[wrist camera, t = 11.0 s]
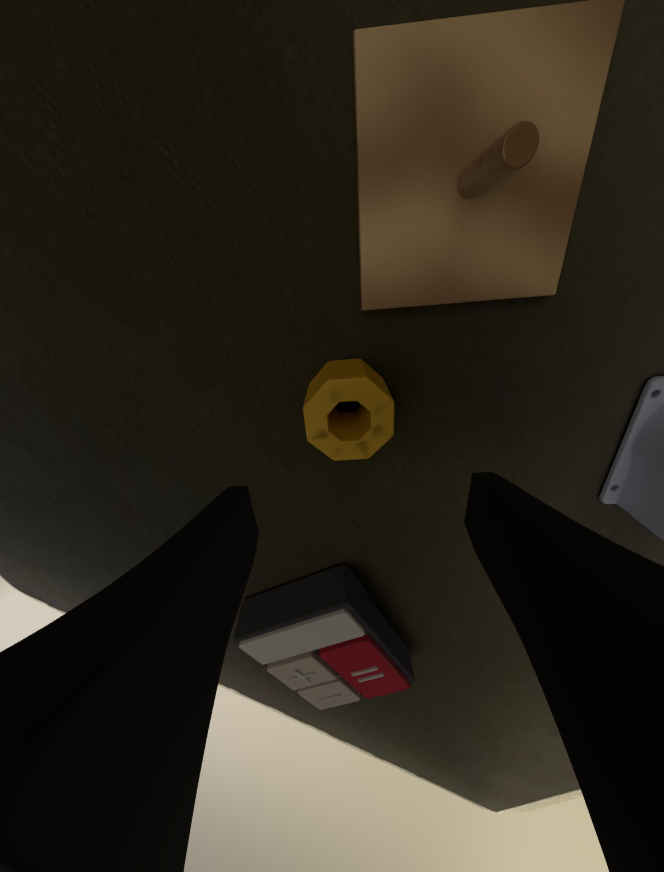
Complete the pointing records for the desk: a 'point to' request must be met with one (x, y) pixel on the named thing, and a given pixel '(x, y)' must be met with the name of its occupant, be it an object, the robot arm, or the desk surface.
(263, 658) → the calculator
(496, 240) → the stand
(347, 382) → the sleeve
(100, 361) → the desk surface
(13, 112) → the desk surface
